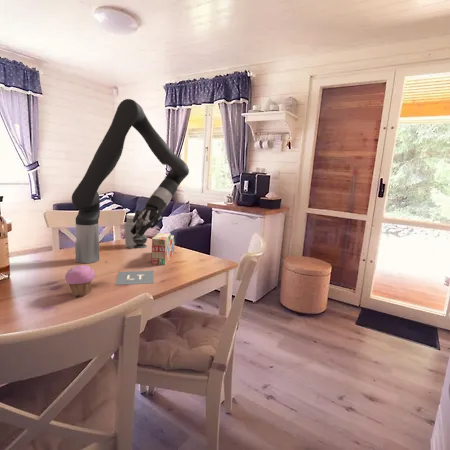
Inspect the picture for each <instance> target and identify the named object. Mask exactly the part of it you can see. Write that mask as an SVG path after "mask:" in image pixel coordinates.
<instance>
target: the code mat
mask: <svg viewBox="0 0 450 450" xmlns="http://www.w3.org/2000/svg"><path fill="white" fill-rule="evenodd" d="M154 275H155V273H154V270H138V271H136V270H135V271H119V272H118V275H117V277H116V281H115V283H114V285H115V286H123V285H125V286H126V285H147V284H152V285H153V284H155V281H154V280H155V279H154V277H155V276H154Z"/></svg>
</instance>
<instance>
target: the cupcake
mask: <svg viewBox="0 0 450 450" xmlns="http://www.w3.org/2000/svg"><path fill="white" fill-rule="evenodd" d="M95 277H96V274H95V270H94V269H93V268H91V267H90V266H89V265H87V264H81V265H76V266H73V267H71V268H70V269H68V270H67V272H66V273H65V276H64V278H65V279H64V280H65V283H66V284H68V287H69V290H70V292H71V294H72V295H73V297H77V296H82V297H84V296H86V295H88V294H89V293H90V291H91V290H92V289H91V288H92V281H93V280H94V279H95Z"/></svg>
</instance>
